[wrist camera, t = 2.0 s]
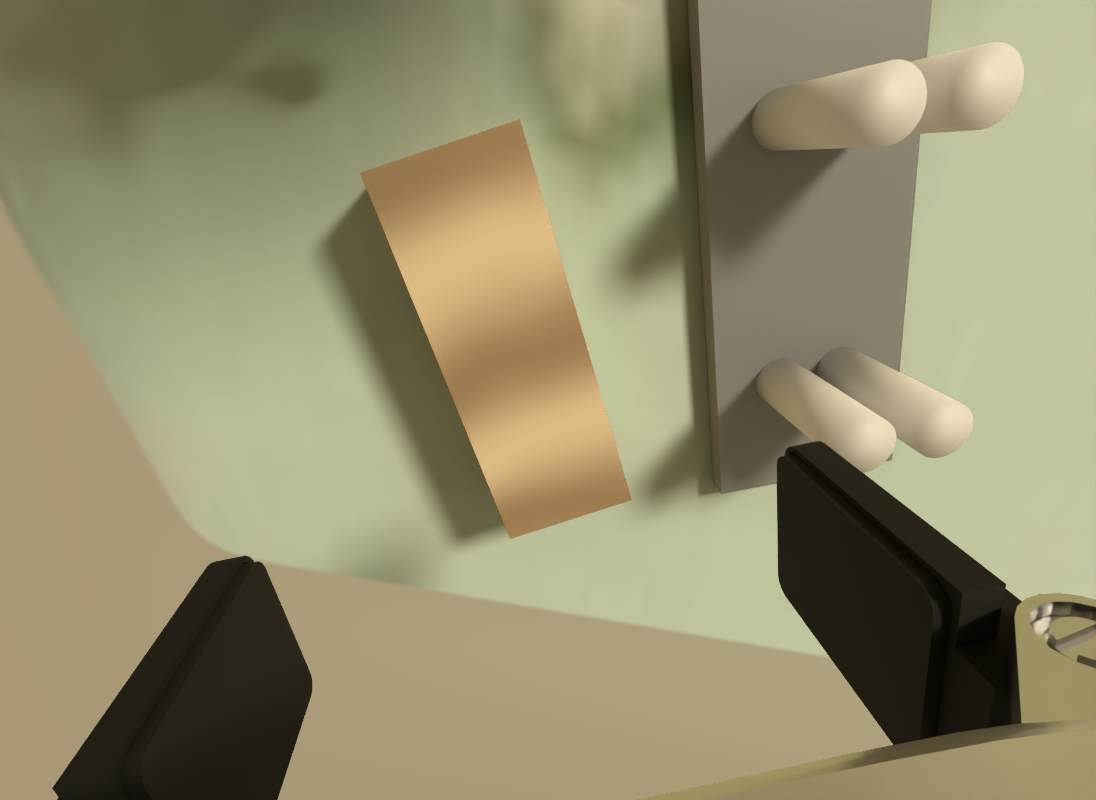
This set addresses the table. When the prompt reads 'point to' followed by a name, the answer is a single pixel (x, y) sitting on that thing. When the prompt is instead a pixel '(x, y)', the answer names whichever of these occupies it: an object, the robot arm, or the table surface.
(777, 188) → the peg stand
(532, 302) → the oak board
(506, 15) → the table surface
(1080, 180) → the table surface
